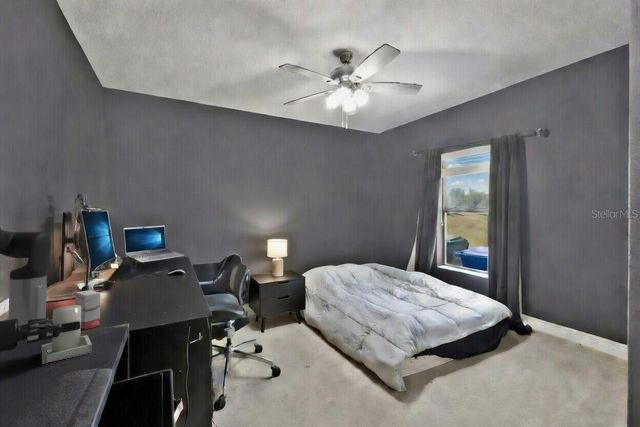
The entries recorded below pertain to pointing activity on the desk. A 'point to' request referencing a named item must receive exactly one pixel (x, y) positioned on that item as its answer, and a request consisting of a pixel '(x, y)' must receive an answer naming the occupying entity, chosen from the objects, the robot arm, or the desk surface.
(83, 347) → the tray
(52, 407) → the desk surface
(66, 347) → the white pillar candle
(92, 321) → the ink box
